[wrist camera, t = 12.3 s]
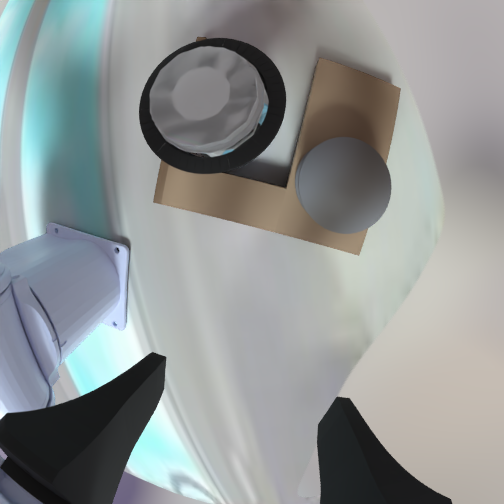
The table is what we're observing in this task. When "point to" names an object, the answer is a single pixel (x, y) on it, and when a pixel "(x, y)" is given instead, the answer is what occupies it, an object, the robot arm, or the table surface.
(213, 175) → the notched board
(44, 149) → the table surface
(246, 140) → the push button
